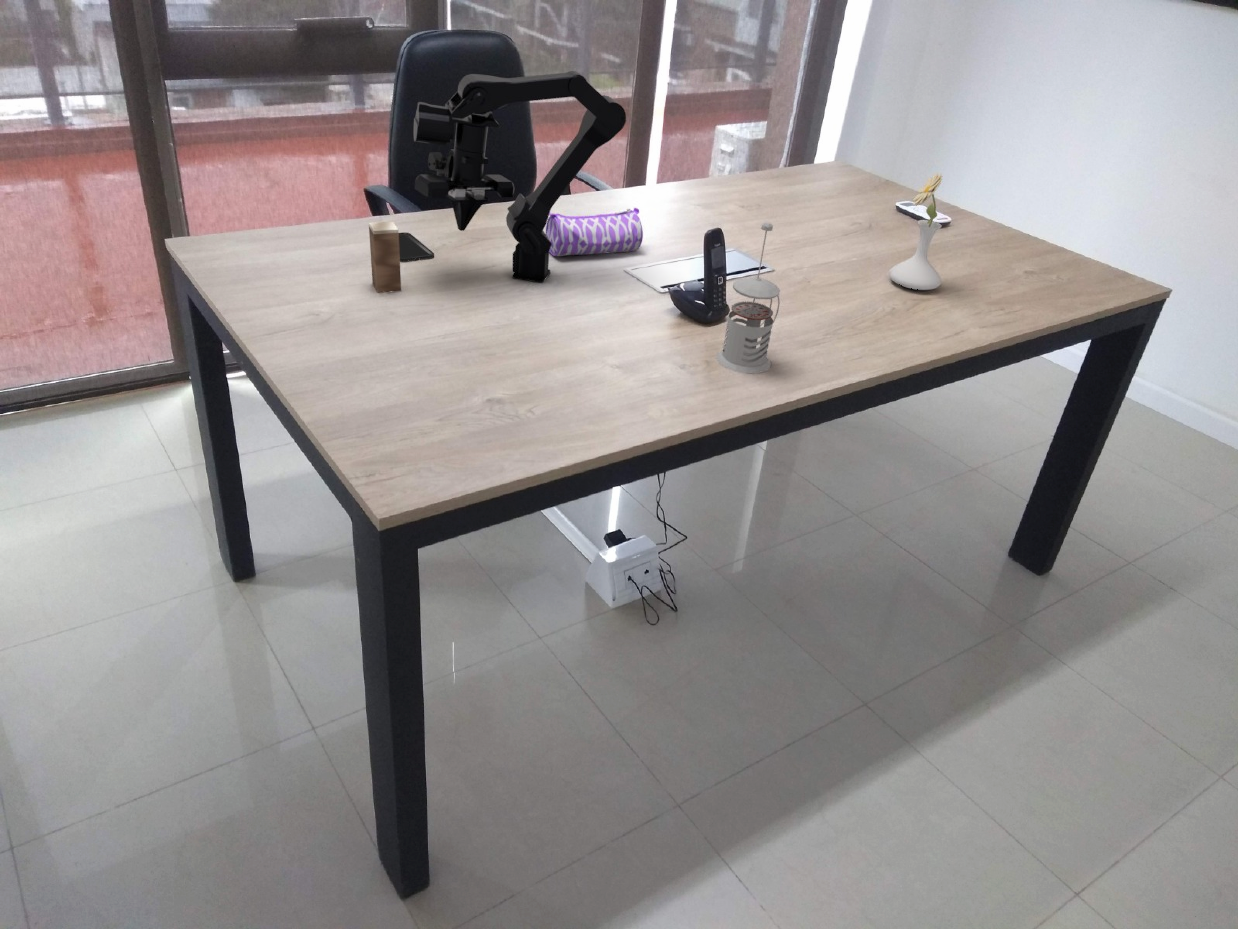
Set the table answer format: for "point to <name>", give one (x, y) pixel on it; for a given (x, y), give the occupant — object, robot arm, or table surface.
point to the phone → (412, 249)
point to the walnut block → (385, 256)
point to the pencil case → (594, 233)
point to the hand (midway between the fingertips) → (461, 229)
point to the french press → (750, 324)
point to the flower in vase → (921, 246)
